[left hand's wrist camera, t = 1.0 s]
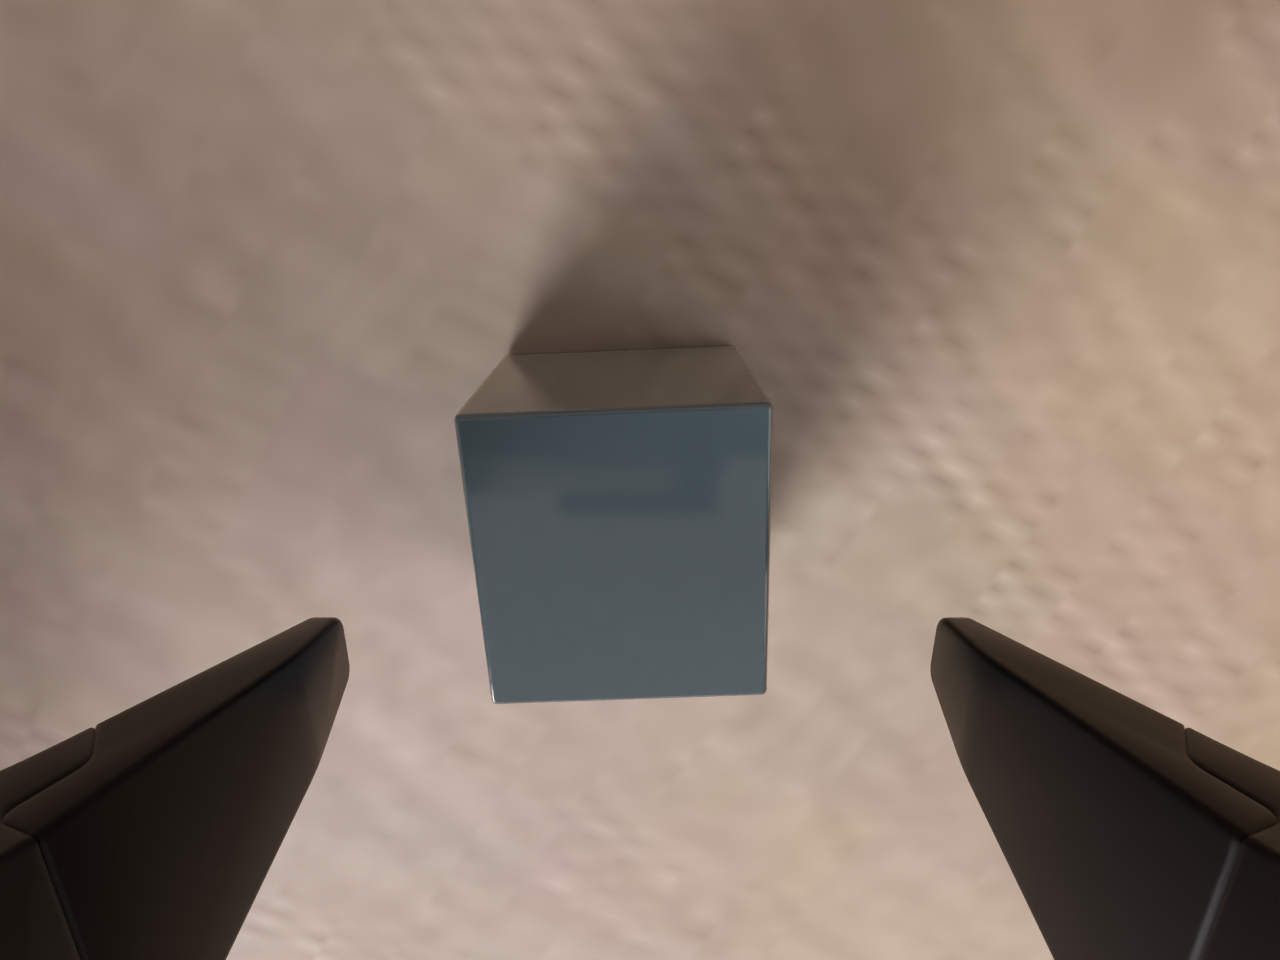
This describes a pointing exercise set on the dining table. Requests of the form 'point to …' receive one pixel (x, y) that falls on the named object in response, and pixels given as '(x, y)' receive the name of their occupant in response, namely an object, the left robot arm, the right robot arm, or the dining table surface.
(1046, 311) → the dining table surface
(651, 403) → the block
